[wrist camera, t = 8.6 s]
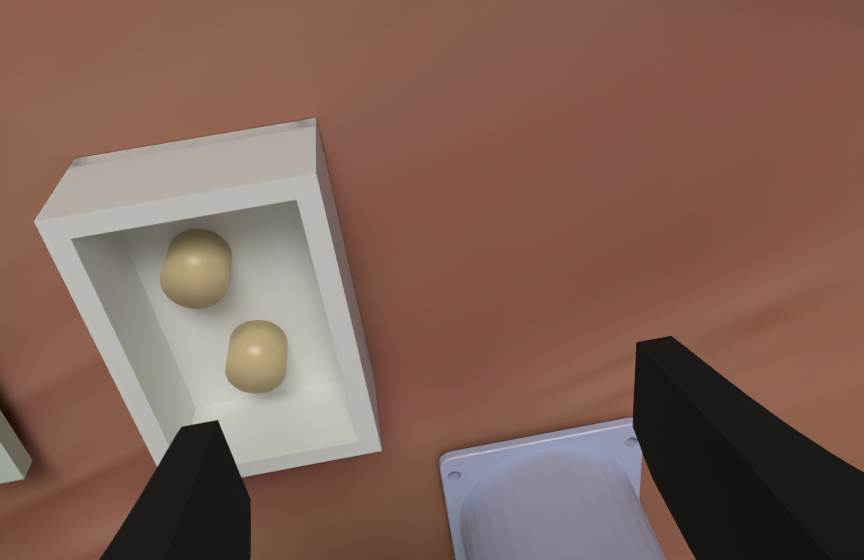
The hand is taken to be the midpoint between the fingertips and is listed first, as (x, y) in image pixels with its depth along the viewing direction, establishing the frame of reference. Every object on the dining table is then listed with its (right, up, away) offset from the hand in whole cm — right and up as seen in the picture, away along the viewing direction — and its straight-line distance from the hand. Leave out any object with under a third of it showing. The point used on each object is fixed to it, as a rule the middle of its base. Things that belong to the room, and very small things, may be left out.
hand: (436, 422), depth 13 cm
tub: (-6, +2, +10) cm, 12 cm away
